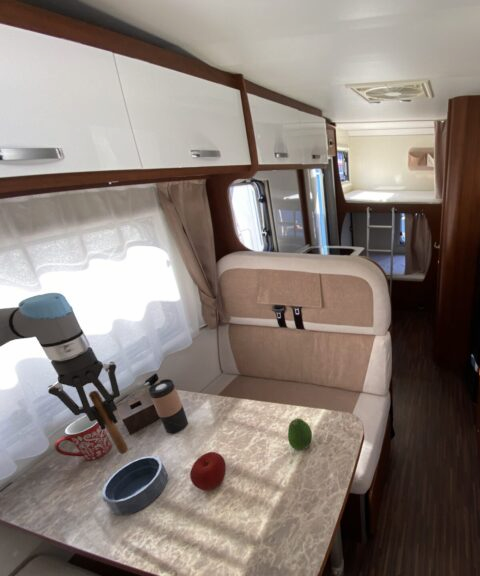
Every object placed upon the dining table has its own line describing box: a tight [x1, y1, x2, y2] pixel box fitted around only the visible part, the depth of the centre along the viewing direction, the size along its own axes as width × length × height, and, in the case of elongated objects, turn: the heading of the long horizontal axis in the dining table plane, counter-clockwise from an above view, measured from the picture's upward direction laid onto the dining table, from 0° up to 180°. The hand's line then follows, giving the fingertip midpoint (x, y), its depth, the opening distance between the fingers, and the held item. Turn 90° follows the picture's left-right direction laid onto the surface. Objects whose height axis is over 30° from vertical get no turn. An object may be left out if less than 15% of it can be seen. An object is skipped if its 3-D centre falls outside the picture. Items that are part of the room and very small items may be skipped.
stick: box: [88, 389, 129, 455], centre depth 85 cm, size 2×2×22 cm
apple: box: [189, 451, 227, 491], centre depth 94 cm, size 10×10×10 cm
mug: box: [54, 415, 112, 461], centre depth 104 cm, size 13×9×14 cm
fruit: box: [287, 418, 313, 451], centre depth 104 cm, size 8×8×12 cm
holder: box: [116, 391, 161, 436], centre depth 119 cm, size 10×10×8 cm
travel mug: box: [147, 378, 189, 435], centre depth 113 cm, size 8×8×20 cm
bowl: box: [101, 455, 169, 516], centre depth 93 cm, size 15×15×6 cm
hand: (109, 423), depth 84 cm, fingers closed on stick, 2 cm apart
